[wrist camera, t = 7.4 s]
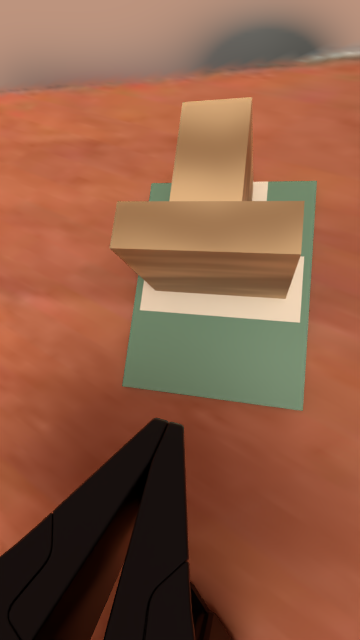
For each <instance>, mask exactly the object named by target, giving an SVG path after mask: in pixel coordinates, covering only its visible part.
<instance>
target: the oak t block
mask: <svg viewBox="0 0 360 640" xmlns="http://www.w3.org/2000/svg"><path fill="white" fill-rule="evenodd" d="M252 196H253V132H252V97H248V98H234V99H221V100H207V101H193V102H183V103H182V110H181V118H180V125H179V133H178V140H177V148H176V155H175V163H174V170H173V178H172V185H171V192H170V200H169V201H117V205H116V212H115V218H114V224H113V230H112V236H111V243H110V249H111V250H112V251H113V252H114V253H115V254H117V255H118V256H119V257H120V258H121V259H122V260H123V261H124V262H125V263H126V264H127V265H128V266H129V267H131V268H132V269H133V270H134V271H135V272H136V273H137V274H138V275H139V276H140V277H141V278H142V279H144V280H145V281H146V282H147V283H148V284H149V285H150V286H151V287H152V288H153V289H154V290H155V291H167V292H183V293H199V294H215V295H231V296H247V297H263V298H279V299H286V296H287V293H288V290H289V287H290V285H291V282H292V279H293V276H294V273H295V270H296V267H297V265H298V262H299V259H300V256H301V248H302V233H303V217H304V202H305V201H252Z"/></svg>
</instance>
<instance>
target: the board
mask: <svg viewBox="0 0 360 640" xmlns="http://www.w3.org/2000/svg"><path fill="white" fill-rule="evenodd" d="M171 185H172V183H152V184H151V191H150V198H149V201H169V200H170V192H171ZM316 185H317V181H284V182H253V196H252V201H305V202H304V217H303V233H302V248H301V256H300V259H299V262H298V265H297V267H296V270H295V273H294V276H293V279H292V282H291V285H290V287H289V290H288V293H287V296H286V299H279V298H263V297H247V296H231V295H215V294H199V293H183V292H167V291H155V290H154V289H153V288H152V287H151V286H150V285H149V284H148V283H147V282H146V281H145V280H144V279H142V278H141V277H140V276H139V275H138V281H137V288H136V295H135V302H134V308H133V315H132V322H131V329H130V336H129V343H128V350H127V357H126V364H125V370H124V377H123V384H122V386H125V387H132V388H139V389H147V390H154V391H161V392H169V393H176V394H183V395H191V396H198V397H205V398H213V399H220V400H227V401H235V402H242V403H249V404H257V405H264V406H271V407H279V408H286V409H293V410H301V411H303V399H304V383H305V366H306V350H307V333H308V317H309V300H310V284H311V268H312V251H313V235H314V218H315V202H316Z"/></svg>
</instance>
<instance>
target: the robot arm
mask: <svg viewBox="0 0 360 640" xmlns="http://www.w3.org/2000/svg"><path fill="white" fill-rule="evenodd" d="M124 560H125V561H124ZM188 560H189V549H188V524H187V499H186V474H185V449H184V427H183V425H181V424H178V423H174V422H170V423H169V422H168V421H167V420H163V419H159V418H154V419H152V420H151V421H150V422H149V423H148V424H147V425H146V426H145V427H144V428H143V429H142V430H140V431H139V432H138V433H137V434H136V435H135V436H134V437H133V438H132V439H131V440H130V441H128V442H127V443H126V444H125V445H124V446H123V447H122V448H121V449H120V450H119V451H118V452H117V453H115V454H114V455H113V456H112V457H111V458H110V459H109V460H108V461H107V462H106V463H105V464H103V465H102V466H101V467H100V468H99V469H98V470H97V471H96V472H95V473H94V474H93V475H92V476H90V477H89V478H88V479H87V480H86V481H85V482H84V483H83V484H82V485H81V486H80V487H78V488H77V489H76V490H75V491H74V492H73V493H72V494H71V495H70V496H69V497H68V498H67V499H65V500H64V501H63V502H62V503H61V504H60V505H59V506H58V507H57V508H56V509H55V510H54V511H53V513H50V514H49V515H48V516H47V517H46V518H45V519H44V520H42V521H41V522H40V523H39V524H38V525H37V526H36V527H35V528H34V529H32V530H31V531H30V532H29V533H28V534H27V535H26V536H24V537H23V538H22V539H21V540H20V541H19V542H18V543H16V544H15V545H14V546H13V547H11V548H10V549H9V550H8V551H6V552H5V553H4V554H3V555H1V556H0V640H90V639H91V637H92V634H93V632H94V630H95V627H96V625H97V623H98V620H99V618H100V616H101V613H102V611H103V609H104V607H105V604H106V602H107V600H108V597H109V595H110V593H111V590H112V588H113V586H114V583H115V581H116V579H117V576H118V574H119V572H120V570H121V567H122V565H123V563H124V565H123V568H122V572H121V576H120V580H119V583H118V587H117V591H116V595H115V598H114V602H113V606H112V610H111V613H110V617H109V621H108V624H107V628H106V632H105V636H104V639H103V640H232V639H231V638H230V636H229V635H228V633H227V631H226V630H225V628H224V627H223V625H222V624H221V622H220V620H219V619H218V617H217V616H216V614H215V613H214V612H211V611H210V610H209V609H208V607H207V606H206V604H205V603H204V601H203V599H202V598H201V596H200V595H199V593H198V592H197V590H196V588H195V587H194V585H193V584H192V583H191V582H190V571H189V562H188Z"/></svg>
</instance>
